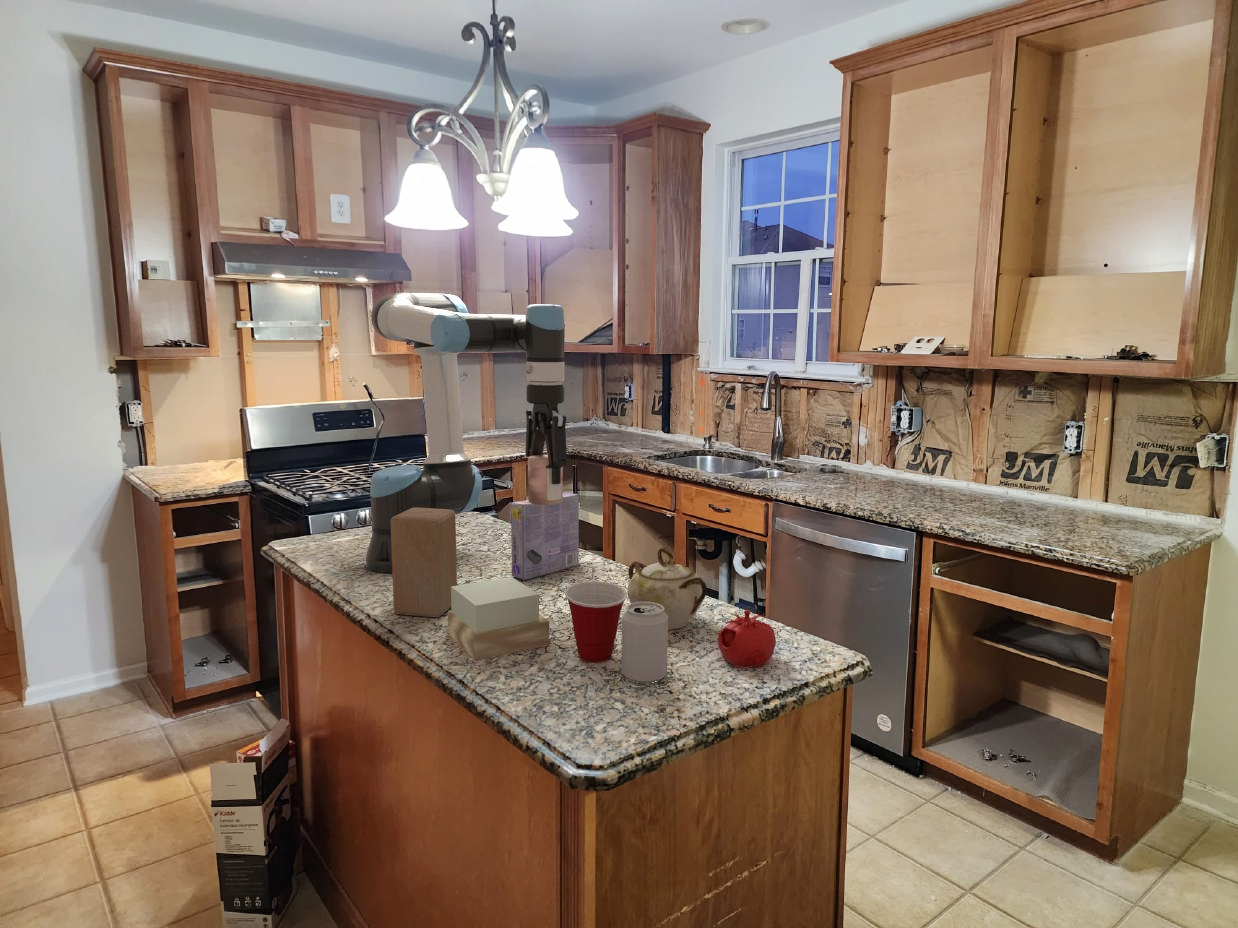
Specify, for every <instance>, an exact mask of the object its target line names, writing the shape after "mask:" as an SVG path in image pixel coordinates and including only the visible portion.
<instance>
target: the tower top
mask: <svg viewBox="0 0 1238 928" xmlns="http://www.w3.org/2000/svg"><path fill="white" fill-rule="evenodd" d="M450 609H451V610H452V613H453V614H454V615H455V616H456V617H457V618H458V619H460V620H461V621H462V622H463V623H464V624H466V625H467V626H468V627H469V628H470V629H472V630H473V631H474V632H475V633H481V632H486V631H491V630H496V629H501V628H506V627H511V626H516V625H521V624H526V623H531V622H536V621H539V614H540V594H539V593H538V592H537V591H534V590H533V589H532V588H530V587H528V586H527V585H525V584H523V583H522V582H520V581H518V579H517V578H515V577H513V576H509V577H502V578H495V579H490V580H483V581H477V582H470V583H465V584H457V586H451V608H450Z"/></svg>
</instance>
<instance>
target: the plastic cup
mask: <svg viewBox="0 0 1238 928" xmlns="http://www.w3.org/2000/svg"><path fill="white" fill-rule="evenodd" d="M564 595H565V598H566V600H567V603H568V606H569V611H570V615H571V623H572V628H573V635H574V639H575V643H576V651H577V654H578V657H579V659H580V660H582V661H583V662H585V663H586V662H587V663H594V664H595V663H604V662H607V661H608V660H610V659H611V658H612V655H613V652H614V647H615V646H614V645H615V641H616V638H617V633H618V627H619V621H620V617H621V611H622V608H623V605H624V602H625V601H626V599H627V598H628V593H627V590H626V589H625V588H623V587H622V586H620V585H618V584H615V583H613V582H608V581H597V580H594V581H590V580H589V581H582V582H577V583H573V584H572V585H570V586H568V587H566V589H565V590H564Z"/></svg>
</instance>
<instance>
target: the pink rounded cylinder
mask: <svg viewBox="0 0 1238 928" xmlns="http://www.w3.org/2000/svg"><path fill="white" fill-rule="evenodd" d="M547 465H549V461H548V454H543V455H535V456H530V457H527V483H528V485H527V486H528V490H527V492H528V495H527V496H528V498H527V500H528V502H529V503H532V504H538V505H551V504H558V503H561V502H563V494H564V491H563V488H564V485H563V484H564V483H563V482H564V481H563V479H564V475H563V474H564V473H563V472H564V471H563V470H564V466H563V467H561V499H558V500H547V468H546V466H547Z"/></svg>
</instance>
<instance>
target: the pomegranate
mask: <svg viewBox="0 0 1238 928" xmlns="http://www.w3.org/2000/svg"><path fill="white" fill-rule="evenodd" d="M743 613H744V616H740V615H739V614H737V613H730V615H731V616H735V617H736V618H735V619H730V620H728V621H727V622H725V624H727V625H726V626H725V627H723V628H721V630H720V631H719V633H718V636H717V644H718V649H719V650H720V653H721V656H722V657H723V659H724V660H726V662H727V663H728V664H732V665H734V666H736V667H739V668H743V667H749V668H759V667H763V666H765V665H766V664H767V663H768V662H769V661H770V660H771V658H772V657H773V654H774V650H775V649H776V646H777V645H776V644H777V640H776V634H775V630H774V628H773V627H772V626H771V625H770V624H769V623H767V622H766V623H765V622H764V621H760V620H758V618H759V617H761V618H764V616H763V615H761V614H756V615H755V616H753V617H750V614H751V610H750V609H746V610H745V609H744V612H743Z"/></svg>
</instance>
